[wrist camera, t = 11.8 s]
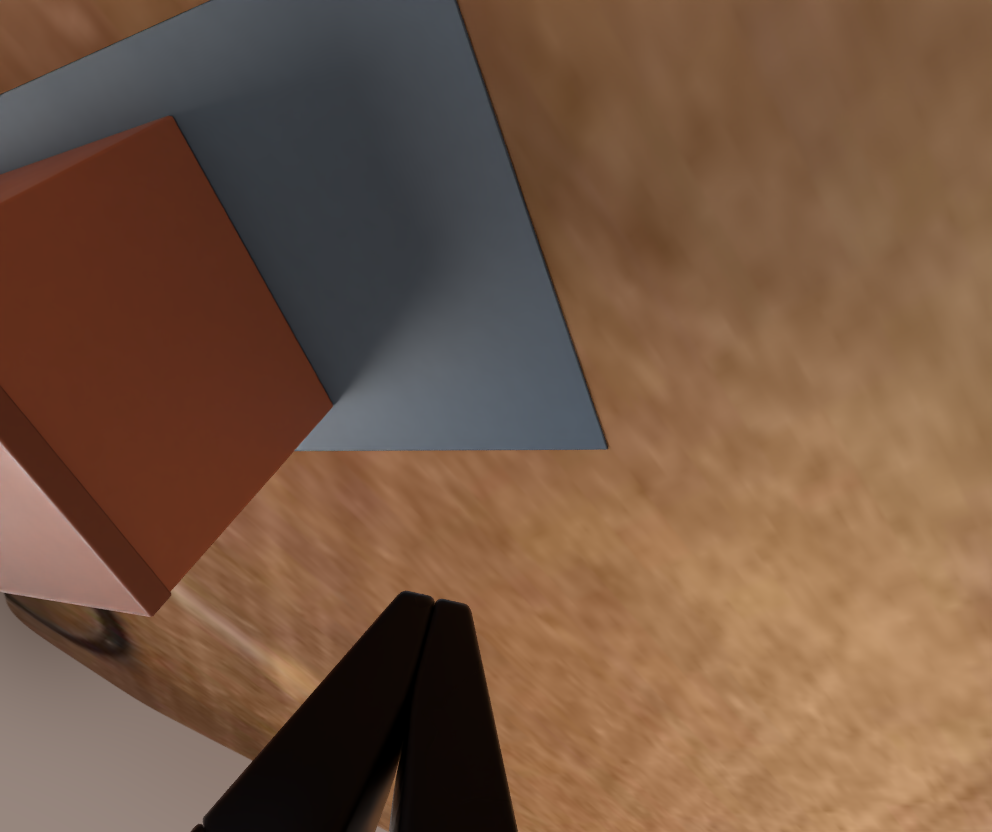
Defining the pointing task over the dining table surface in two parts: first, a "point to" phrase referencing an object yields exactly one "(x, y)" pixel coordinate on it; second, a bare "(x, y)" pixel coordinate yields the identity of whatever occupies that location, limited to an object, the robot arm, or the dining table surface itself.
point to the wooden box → (133, 373)
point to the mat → (353, 208)
